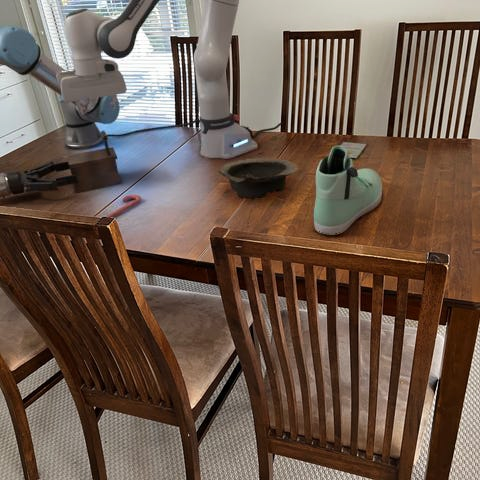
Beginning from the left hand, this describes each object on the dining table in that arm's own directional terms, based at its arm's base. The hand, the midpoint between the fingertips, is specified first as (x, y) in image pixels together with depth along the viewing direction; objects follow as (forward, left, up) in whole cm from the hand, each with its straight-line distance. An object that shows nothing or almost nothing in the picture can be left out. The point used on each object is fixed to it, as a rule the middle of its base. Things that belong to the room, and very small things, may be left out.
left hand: (75, 171), depth 163 cm
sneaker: (-52, +76, -6) cm, 92 cm away
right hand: (-11, +3, +18) cm, 22 cm away
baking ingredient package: (-86, +46, -6) cm, 98 cm away
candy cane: (-3, +27, -6) cm, 28 cm away
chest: (-6, +2, -6) cm, 8 cm away
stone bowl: (-42, +46, -6) cm, 63 cm away
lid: (-6, +2, +3) cm, 7 cm away
